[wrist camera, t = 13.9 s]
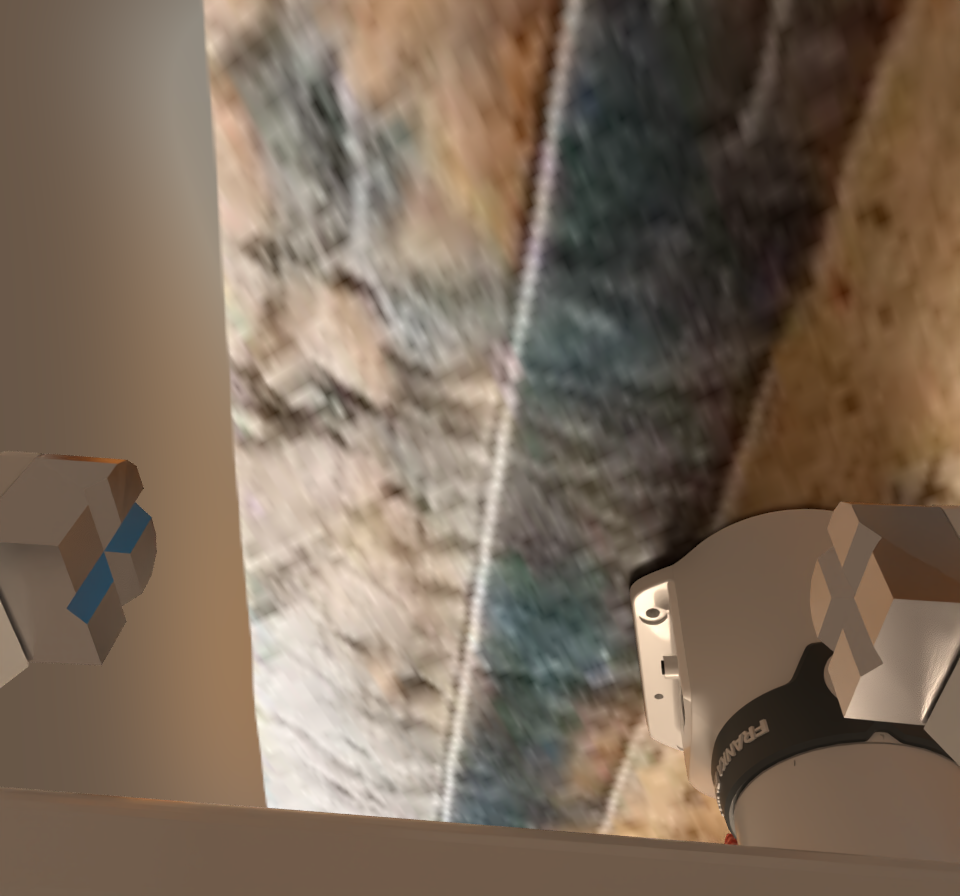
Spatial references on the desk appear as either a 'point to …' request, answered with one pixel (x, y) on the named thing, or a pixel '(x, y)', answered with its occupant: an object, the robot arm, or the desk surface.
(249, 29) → the desk surface
